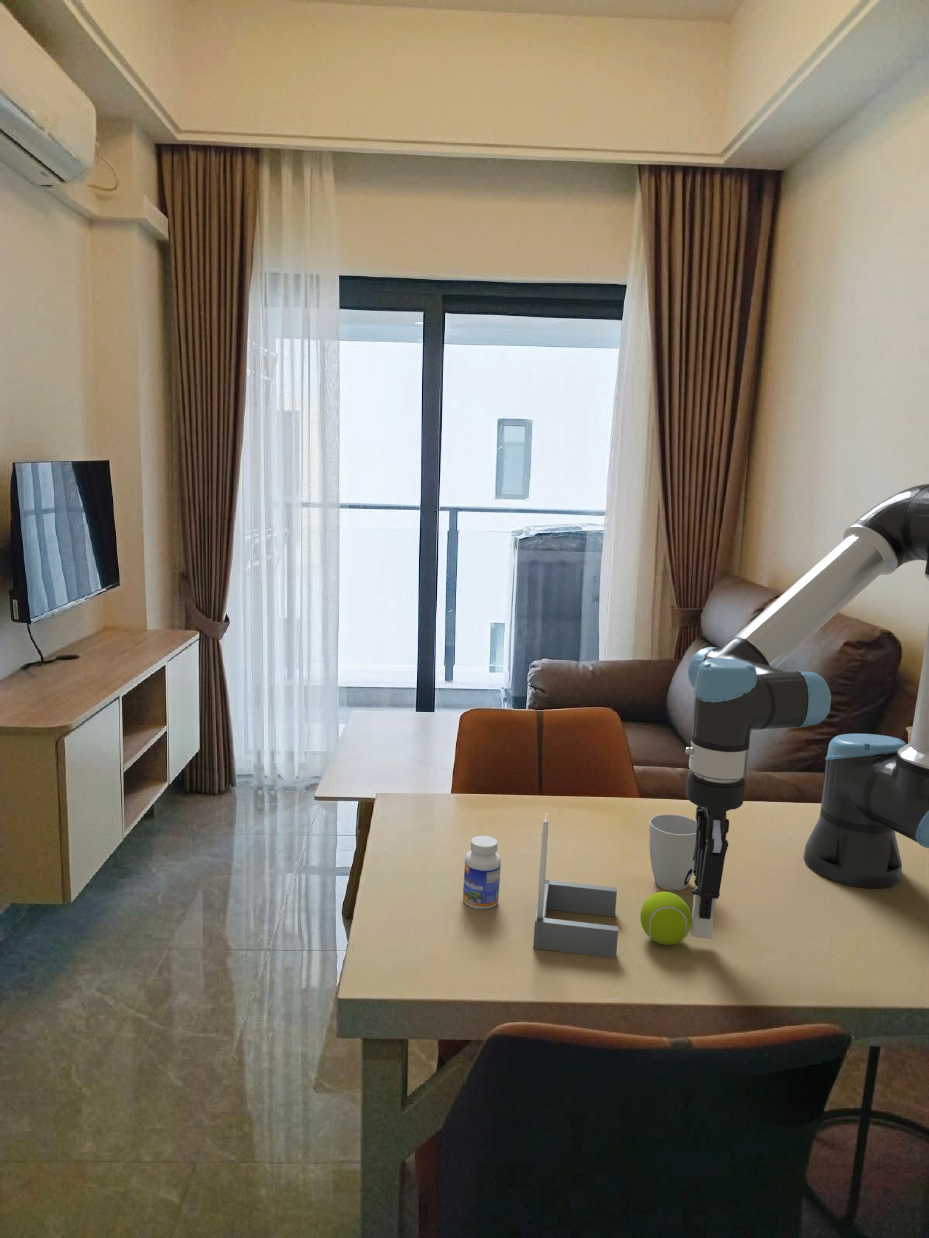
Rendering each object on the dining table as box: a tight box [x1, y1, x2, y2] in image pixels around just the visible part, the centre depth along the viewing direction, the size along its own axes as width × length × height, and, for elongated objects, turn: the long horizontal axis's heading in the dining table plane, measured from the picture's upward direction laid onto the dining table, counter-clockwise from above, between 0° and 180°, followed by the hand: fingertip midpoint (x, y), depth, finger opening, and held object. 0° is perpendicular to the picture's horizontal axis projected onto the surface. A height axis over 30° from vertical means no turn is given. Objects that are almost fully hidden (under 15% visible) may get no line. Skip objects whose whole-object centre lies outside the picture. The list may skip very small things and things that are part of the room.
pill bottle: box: [462, 835, 502, 910], centre depth 130 cm, size 5×5×10 cm
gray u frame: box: [532, 812, 619, 959], centre depth 123 cm, size 11×12×18 cm
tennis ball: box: [639, 891, 692, 946], centre depth 121 cm, size 7×7×7 cm
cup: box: [648, 813, 697, 891], centre depth 139 cm, size 8×8×10 cm
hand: (700, 934), depth 121 cm, fingers closed
